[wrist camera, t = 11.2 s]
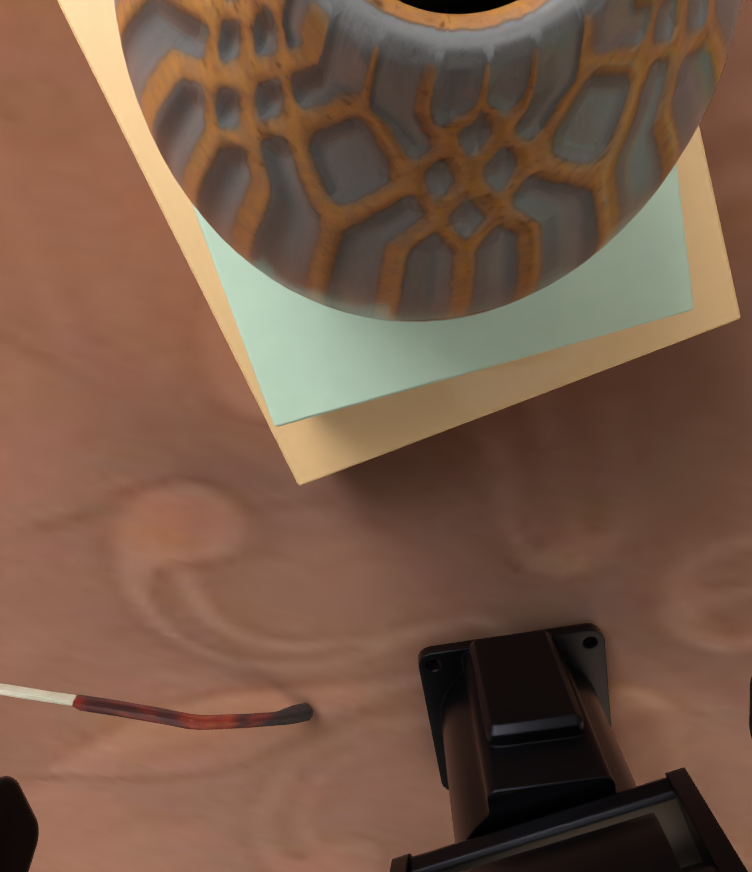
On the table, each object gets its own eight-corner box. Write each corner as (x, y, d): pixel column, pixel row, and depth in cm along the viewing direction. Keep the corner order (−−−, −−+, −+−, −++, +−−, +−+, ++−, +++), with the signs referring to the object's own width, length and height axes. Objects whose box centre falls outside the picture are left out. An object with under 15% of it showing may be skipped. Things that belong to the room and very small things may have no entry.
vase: (175, -116, 10) (-593, -1299, 2) (600, -182, 10) (1550, -1866, 2) (252, 306, 13) (20, 490, 5) (599, 263, 12) (1024, 380, 4)
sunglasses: (-129, 565, 22) (-256, 666, 17) (324, 656, 24) (320, 766, 20) (-135, 841, 26) (-237, 980, 22) (247, 895, 29) (228, 1031, 24)
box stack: (684, 300, 19) (815, 342, 13) (310, 445, 20) (283, 538, 15) (526, -344, 14) (625, -717, 8) (56, -85, 16) (-129, -250, 10)
